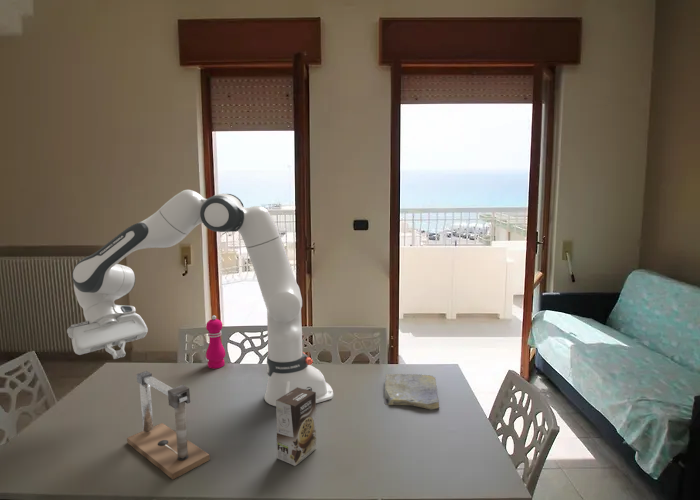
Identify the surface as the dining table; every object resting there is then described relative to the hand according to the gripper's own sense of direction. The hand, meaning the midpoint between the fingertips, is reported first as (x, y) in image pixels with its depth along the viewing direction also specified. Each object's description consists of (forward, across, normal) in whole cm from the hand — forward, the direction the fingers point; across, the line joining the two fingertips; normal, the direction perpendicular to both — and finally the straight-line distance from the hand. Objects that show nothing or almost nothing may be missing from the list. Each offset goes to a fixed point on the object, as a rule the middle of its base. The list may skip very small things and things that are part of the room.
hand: (120, 356), depth 132 cm
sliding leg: (+30, 0, -4) cm, 30 cm away
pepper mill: (+4, +41, +24) cm, 48 cm away
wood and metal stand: (+31, 0, -3) cm, 32 cm away
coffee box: (+51, +21, -22) cm, 59 cm away
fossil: (+55, +68, -26) cm, 91 cm away
